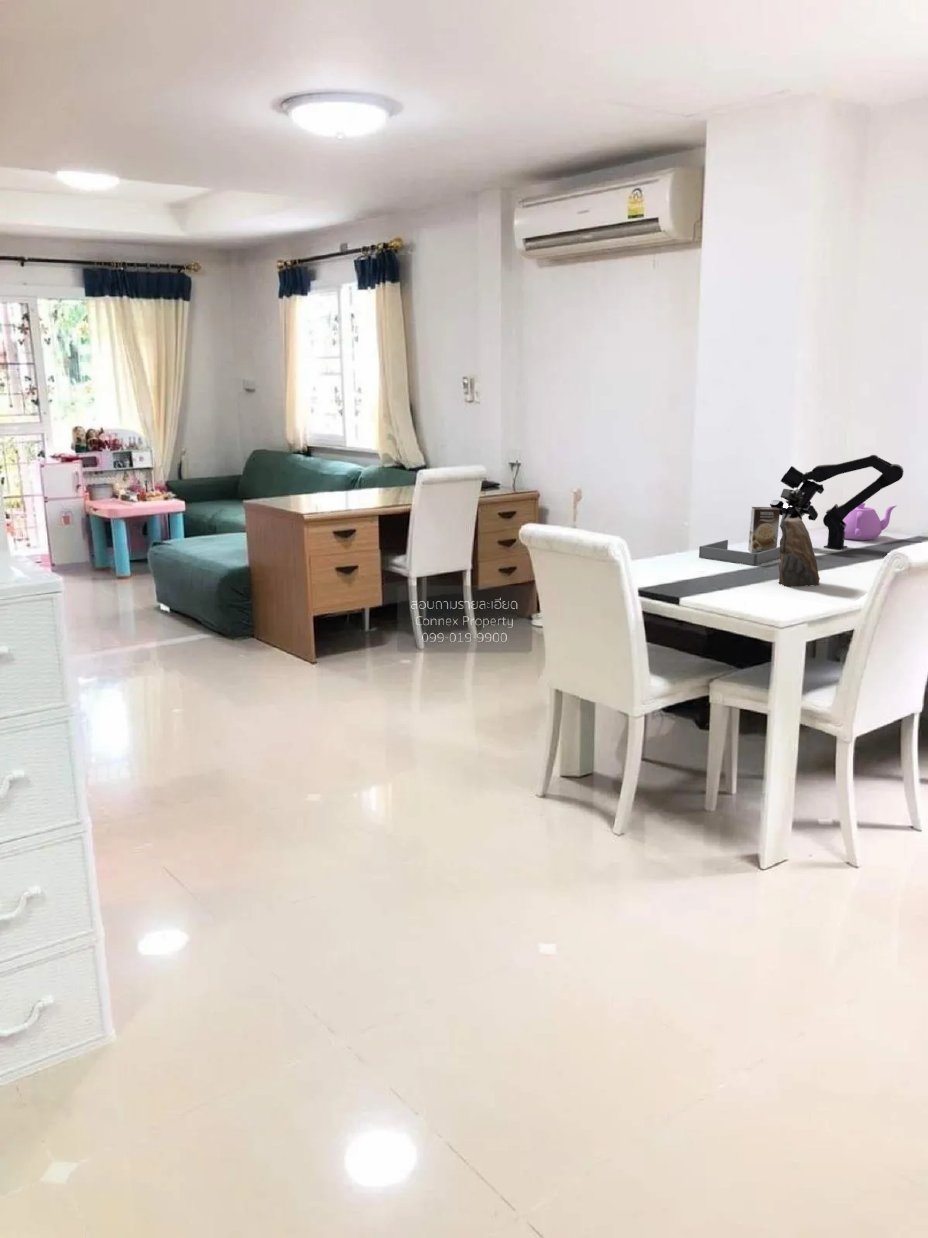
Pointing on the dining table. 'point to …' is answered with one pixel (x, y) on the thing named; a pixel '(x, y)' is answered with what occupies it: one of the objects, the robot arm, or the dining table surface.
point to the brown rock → (796, 555)
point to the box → (736, 554)
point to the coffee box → (763, 529)
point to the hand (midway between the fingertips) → (781, 527)
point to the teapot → (865, 523)
